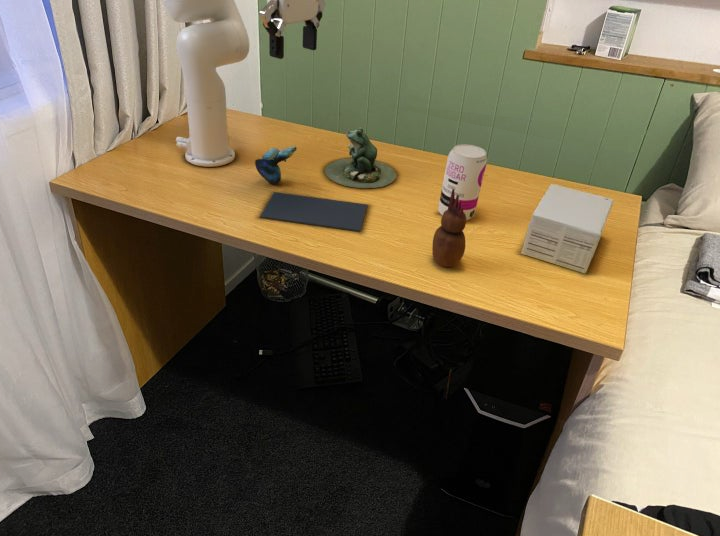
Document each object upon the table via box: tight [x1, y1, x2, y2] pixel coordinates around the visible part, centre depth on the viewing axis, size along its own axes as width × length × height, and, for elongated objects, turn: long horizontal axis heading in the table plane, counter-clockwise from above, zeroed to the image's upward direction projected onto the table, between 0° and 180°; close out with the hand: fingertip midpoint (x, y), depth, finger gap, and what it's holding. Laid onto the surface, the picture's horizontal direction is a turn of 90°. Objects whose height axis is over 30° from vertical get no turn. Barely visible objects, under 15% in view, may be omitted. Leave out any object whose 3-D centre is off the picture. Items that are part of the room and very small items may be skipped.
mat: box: [259, 191, 368, 233], centre depth 127 cm, size 22×12×1 cm, turn 79°
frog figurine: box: [324, 127, 397, 189], centre depth 141 cm, size 18×18×12 cm
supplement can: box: [437, 144, 488, 221], centre depth 125 cm, size 8×8×15 cm
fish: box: [254, 145, 298, 185], centre depth 134 cm, size 4×10×10 cm, turn 79°
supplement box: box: [520, 183, 615, 274], centre depth 117 cm, size 17×13×9 cm
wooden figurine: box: [431, 189, 468, 268], centre depth 109 cm, size 7×6×15 cm
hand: (293, 53), depth 112 cm, fingers open, 9 cm apart
